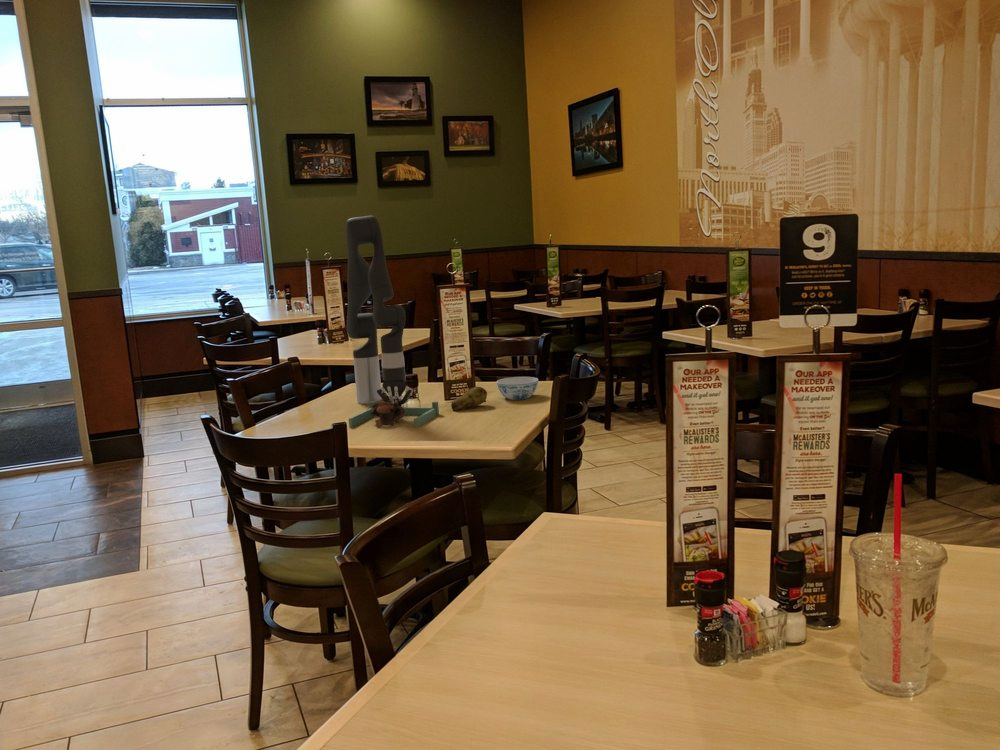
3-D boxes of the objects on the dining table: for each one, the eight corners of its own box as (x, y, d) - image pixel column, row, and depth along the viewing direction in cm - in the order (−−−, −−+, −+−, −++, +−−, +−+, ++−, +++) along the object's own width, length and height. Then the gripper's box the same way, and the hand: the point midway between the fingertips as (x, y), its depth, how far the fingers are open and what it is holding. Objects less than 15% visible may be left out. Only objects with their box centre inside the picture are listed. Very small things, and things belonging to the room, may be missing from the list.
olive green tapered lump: (450, 409, 292) (448, 387, 291) (486, 406, 294) (485, 384, 293) (452, 414, 284) (450, 391, 283) (489, 411, 286) (488, 388, 285)
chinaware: (543, 397, 306) (542, 376, 304) (534, 405, 291) (533, 383, 290) (503, 397, 309) (502, 377, 308) (493, 405, 295) (491, 384, 294)
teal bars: (372, 415, 290) (371, 401, 289) (439, 416, 282) (438, 401, 281) (348, 427, 272) (347, 412, 272) (418, 428, 265) (417, 412, 264)
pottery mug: (367, 428, 269) (364, 404, 272) (379, 435, 278) (377, 411, 281) (401, 420, 266) (398, 396, 269) (412, 427, 275) (410, 403, 278)
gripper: (416, 363, 278) (419, 414, 281) (379, 363, 282) (383, 414, 284) (407, 367, 271) (411, 419, 274) (370, 367, 275) (374, 419, 277)
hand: (397, 416), depth 279 cm, fingers closed
